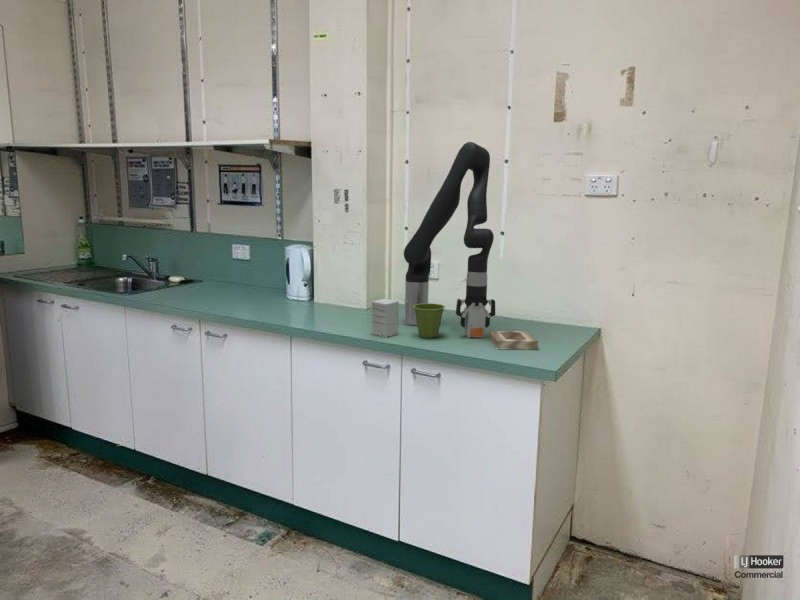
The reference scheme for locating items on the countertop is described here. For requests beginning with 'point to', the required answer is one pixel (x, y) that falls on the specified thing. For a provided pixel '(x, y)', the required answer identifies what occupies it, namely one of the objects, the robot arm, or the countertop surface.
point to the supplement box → (385, 317)
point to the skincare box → (474, 322)
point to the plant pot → (428, 319)
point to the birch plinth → (513, 339)
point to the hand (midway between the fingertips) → (474, 327)
